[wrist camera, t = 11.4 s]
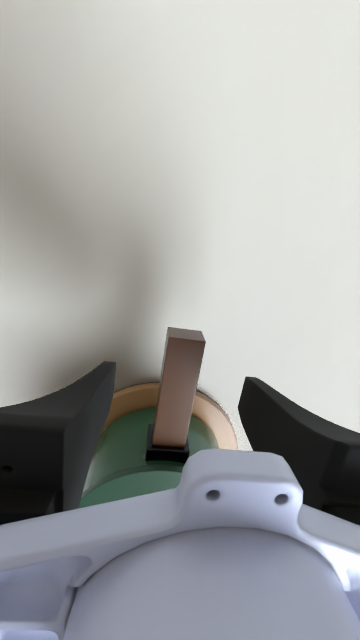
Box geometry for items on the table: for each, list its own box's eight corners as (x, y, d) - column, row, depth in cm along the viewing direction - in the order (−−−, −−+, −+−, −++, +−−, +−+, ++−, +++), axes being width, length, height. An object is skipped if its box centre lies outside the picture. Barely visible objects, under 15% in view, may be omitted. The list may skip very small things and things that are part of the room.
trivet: (218, 512, 26) (220, 521, 25) (73, 505, 24) (70, 514, 24) (251, 391, 22) (254, 396, 21) (79, 373, 20) (76, 378, 20)
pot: (209, 512, 24) (227, 617, 18) (85, 506, 23) (54, 616, 16) (258, 323, 19) (311, 371, 12) (98, 302, 18) (59, 343, 11)
